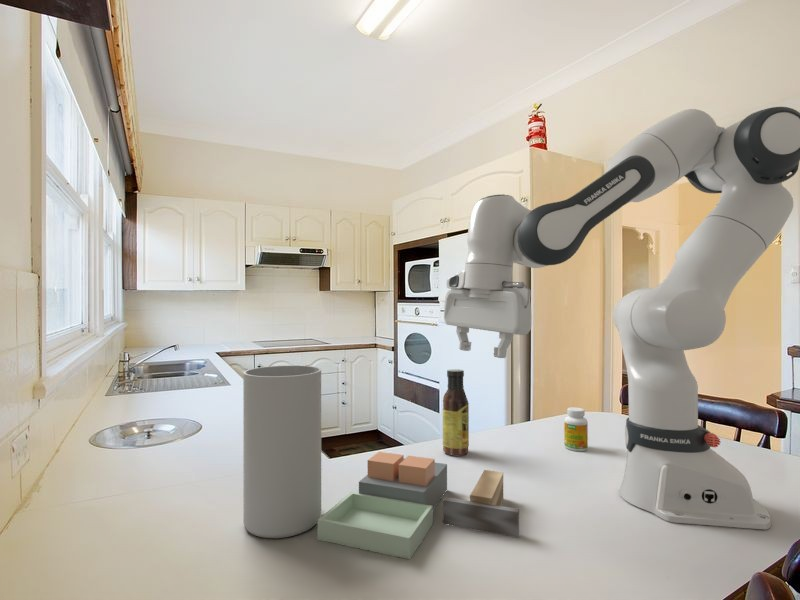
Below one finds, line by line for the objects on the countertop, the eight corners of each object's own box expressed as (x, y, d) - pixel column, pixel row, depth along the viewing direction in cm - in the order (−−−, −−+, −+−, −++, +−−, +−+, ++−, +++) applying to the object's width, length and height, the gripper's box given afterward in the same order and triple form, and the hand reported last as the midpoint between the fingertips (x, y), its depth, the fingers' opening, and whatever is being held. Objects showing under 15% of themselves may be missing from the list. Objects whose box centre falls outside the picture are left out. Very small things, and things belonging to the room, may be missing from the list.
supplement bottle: (563, 450, 112) (563, 410, 112) (564, 443, 117) (564, 405, 117) (587, 452, 110) (587, 412, 110) (587, 446, 115) (587, 407, 115)
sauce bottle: (468, 458, 106) (467, 372, 106) (441, 456, 108) (441, 371, 108) (469, 449, 113) (469, 368, 113) (444, 447, 114) (444, 368, 114)
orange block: (403, 471, 85) (403, 454, 85) (393, 481, 80) (393, 463, 80) (379, 467, 86) (379, 451, 86) (367, 477, 82) (367, 460, 82)
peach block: (434, 475, 82) (434, 459, 82) (425, 486, 78) (425, 468, 78) (408, 471, 84) (408, 455, 84) (398, 481, 80) (398, 464, 80)
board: (447, 489, 88) (447, 464, 88) (424, 522, 75) (424, 492, 75) (389, 481, 93) (389, 456, 93) (358, 510, 80) (358, 481, 80)
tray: (432, 524, 75) (432, 505, 75) (409, 559, 64) (409, 538, 64) (351, 509, 80) (351, 491, 80) (317, 539, 70) (317, 519, 70)
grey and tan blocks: (527, 503, 83) (527, 475, 83) (517, 538, 70) (517, 505, 70) (462, 493, 87) (462, 466, 87) (443, 524, 75) (442, 493, 75)
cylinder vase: (240, 512, 79) (240, 367, 79) (312, 499, 84) (312, 363, 84) (247, 547, 68) (247, 379, 68) (329, 530, 73) (329, 373, 73)
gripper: (542, 283, 80) (536, 362, 80) (464, 282, 97) (459, 347, 97) (517, 280, 76) (511, 362, 76) (441, 279, 93) (435, 346, 93)
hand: (481, 353), depth 87 cm, fingers open, 8 cm apart
